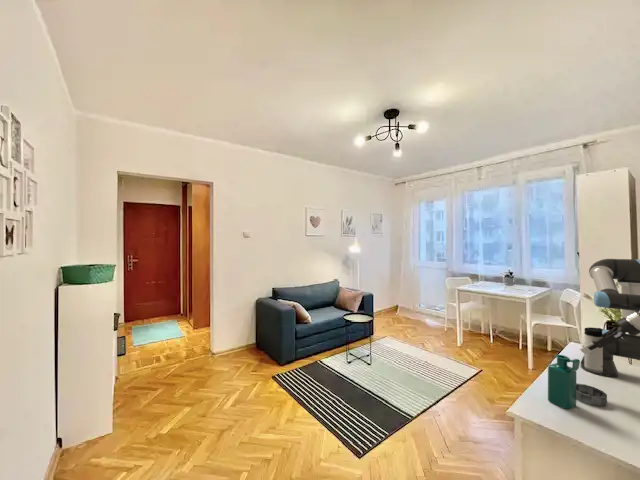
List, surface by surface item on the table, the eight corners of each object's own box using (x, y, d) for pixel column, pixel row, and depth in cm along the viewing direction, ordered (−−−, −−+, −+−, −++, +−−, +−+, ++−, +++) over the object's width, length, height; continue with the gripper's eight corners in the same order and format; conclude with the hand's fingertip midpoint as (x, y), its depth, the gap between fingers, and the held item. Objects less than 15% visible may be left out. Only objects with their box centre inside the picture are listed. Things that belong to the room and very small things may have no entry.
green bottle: (545, 400, 130) (546, 353, 130) (556, 396, 134) (556, 350, 133) (571, 412, 121) (571, 362, 121) (581, 407, 125) (582, 359, 124)
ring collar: (583, 390, 139) (583, 382, 139) (614, 405, 127) (614, 396, 127) (563, 393, 136) (563, 385, 136) (592, 408, 124) (592, 399, 124)
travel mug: (607, 373, 129) (607, 330, 130) (590, 372, 131) (590, 329, 131) (596, 367, 136) (596, 326, 136) (581, 366, 137) (580, 325, 137)
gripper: (643, 336, 115) (589, 362, 127) (641, 327, 128) (592, 352, 140) (624, 320, 119) (573, 348, 131) (624, 313, 132) (578, 338, 144)
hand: (583, 350), depth 136 cm, fingers closed on travel mug, 6 cm apart
